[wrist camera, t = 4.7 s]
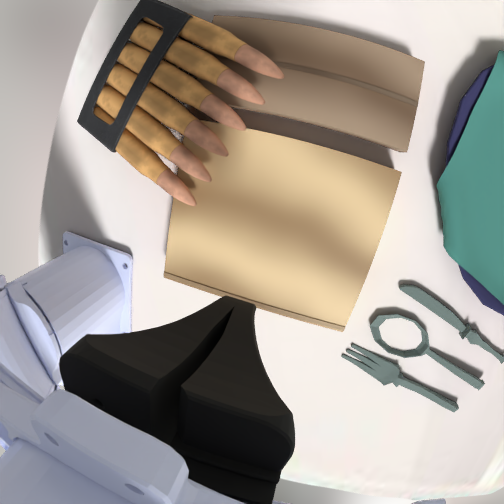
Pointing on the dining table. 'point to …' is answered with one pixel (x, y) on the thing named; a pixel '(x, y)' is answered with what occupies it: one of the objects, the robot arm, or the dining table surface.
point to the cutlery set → (462, 229)
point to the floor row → (328, 80)
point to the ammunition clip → (173, 82)
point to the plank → (280, 225)
